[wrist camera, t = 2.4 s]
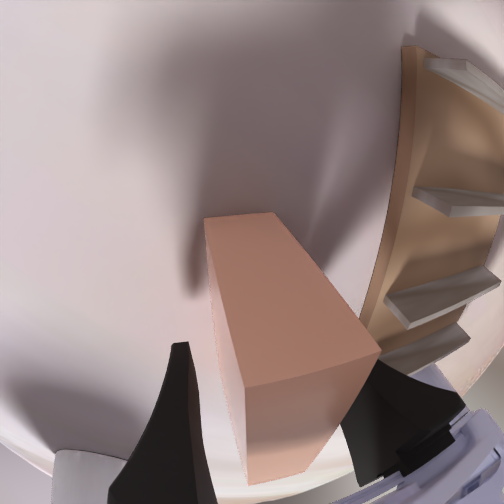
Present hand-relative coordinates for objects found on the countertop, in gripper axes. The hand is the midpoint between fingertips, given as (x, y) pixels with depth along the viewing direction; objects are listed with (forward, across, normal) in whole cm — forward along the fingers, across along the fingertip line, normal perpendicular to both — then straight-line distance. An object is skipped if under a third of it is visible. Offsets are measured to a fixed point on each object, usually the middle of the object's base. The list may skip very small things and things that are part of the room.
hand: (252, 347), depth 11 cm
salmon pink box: (+2, 0, 0) cm, 2 cm away
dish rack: (+2, -14, -3) cm, 15 cm away
